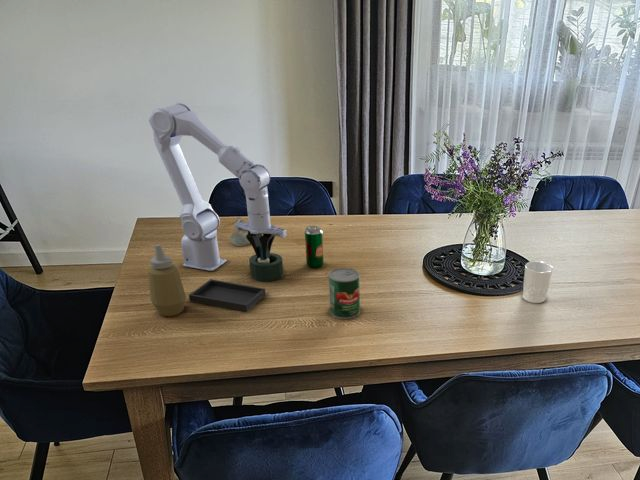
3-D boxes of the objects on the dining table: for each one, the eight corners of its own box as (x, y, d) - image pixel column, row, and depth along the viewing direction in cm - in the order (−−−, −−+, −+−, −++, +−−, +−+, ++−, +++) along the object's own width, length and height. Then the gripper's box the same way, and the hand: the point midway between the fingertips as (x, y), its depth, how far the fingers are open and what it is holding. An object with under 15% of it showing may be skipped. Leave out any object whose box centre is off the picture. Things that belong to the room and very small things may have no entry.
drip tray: (190, 301, 160) (188, 294, 159) (211, 285, 168) (210, 279, 167) (247, 312, 158) (246, 305, 157) (265, 295, 166) (265, 288, 165)
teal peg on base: (256, 269, 174) (253, 246, 171) (261, 265, 177) (259, 242, 173) (266, 271, 174) (264, 248, 170) (272, 266, 177) (269, 244, 173)
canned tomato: (346, 322, 158) (345, 284, 152) (323, 312, 161) (321, 274, 155) (366, 311, 164) (366, 273, 158) (343, 301, 167) (343, 265, 161)
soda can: (319, 270, 182) (317, 232, 176) (303, 267, 183) (301, 229, 177) (326, 263, 187) (324, 226, 180) (310, 261, 187) (308, 224, 181)
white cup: (529, 306, 174) (534, 274, 169) (515, 294, 180) (520, 263, 174) (552, 301, 177) (558, 270, 172) (537, 290, 183) (542, 259, 178)
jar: (245, 278, 174) (243, 262, 171) (260, 266, 181) (258, 250, 179) (274, 283, 173) (273, 267, 170) (288, 271, 180) (287, 255, 177)
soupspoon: (229, 249, 191) (252, 248, 194) (229, 239, 190) (251, 239, 192) (229, 221, 208) (249, 221, 211) (228, 212, 207) (249, 212, 209)
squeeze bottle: (195, 307, 157) (183, 242, 148) (172, 321, 151) (159, 254, 141) (169, 301, 159) (156, 236, 150) (146, 314, 153) (131, 247, 143)
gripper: (226, 212, 164) (232, 258, 171) (276, 220, 162) (280, 266, 170) (239, 204, 170) (245, 249, 177) (288, 211, 168) (291, 257, 175)
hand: (263, 257), depth 174 cm, fingers closed on teal peg on base
